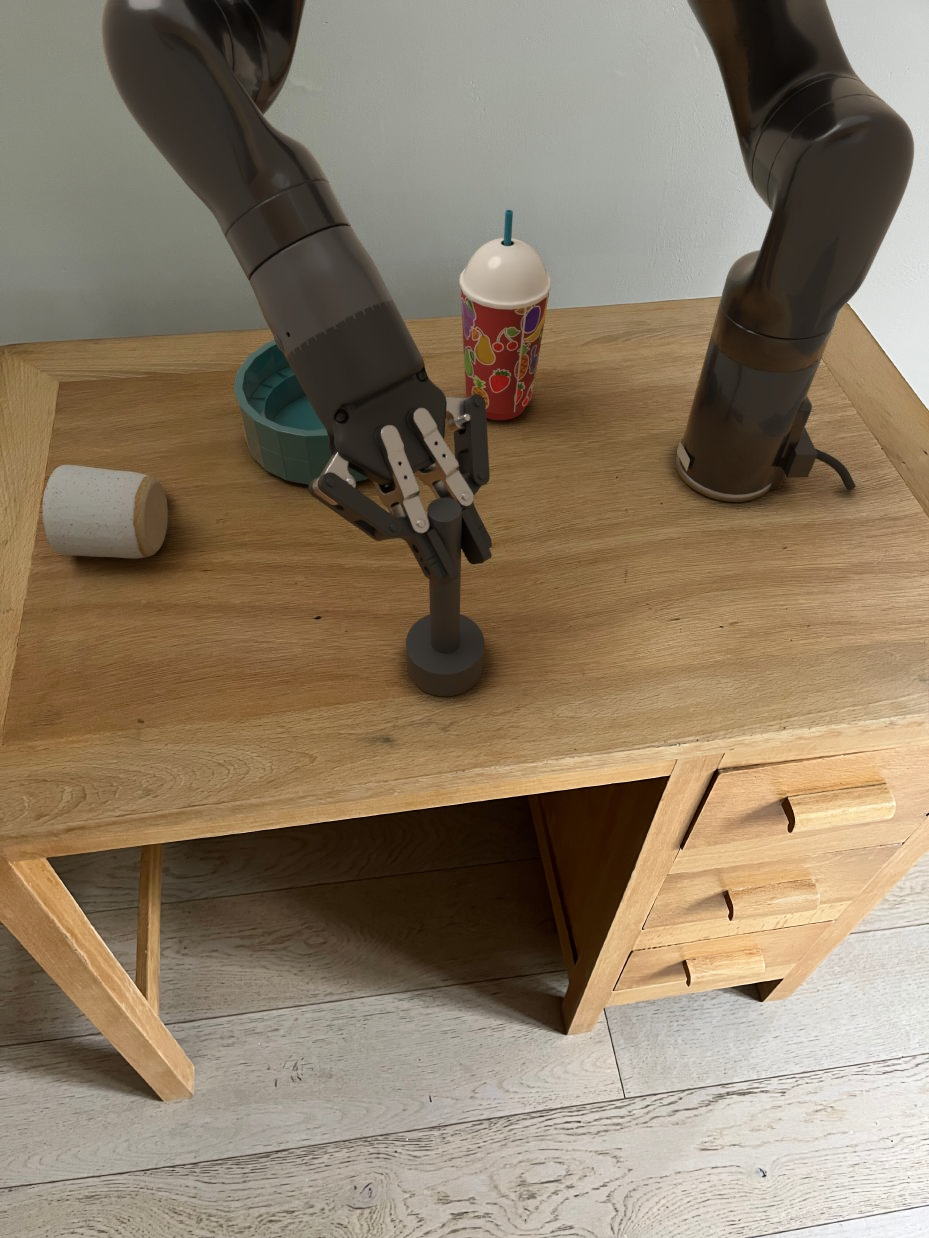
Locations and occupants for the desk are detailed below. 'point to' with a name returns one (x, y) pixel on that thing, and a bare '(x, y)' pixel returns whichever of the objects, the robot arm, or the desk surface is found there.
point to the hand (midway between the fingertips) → (465, 570)
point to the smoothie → (503, 322)
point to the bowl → (280, 418)
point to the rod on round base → (445, 621)
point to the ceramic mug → (104, 512)
